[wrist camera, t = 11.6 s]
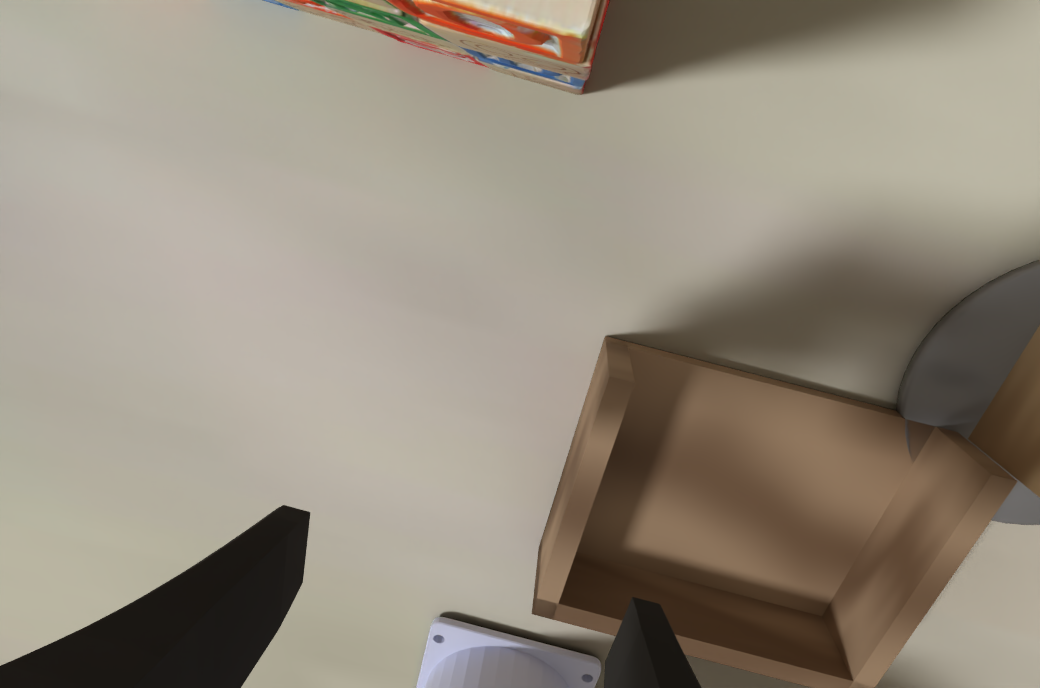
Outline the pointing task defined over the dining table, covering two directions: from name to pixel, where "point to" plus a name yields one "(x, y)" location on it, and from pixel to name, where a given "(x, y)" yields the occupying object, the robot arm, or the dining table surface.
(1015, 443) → the oak block
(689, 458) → the crate
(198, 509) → the dining table surface
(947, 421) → the slate coaster
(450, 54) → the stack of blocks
